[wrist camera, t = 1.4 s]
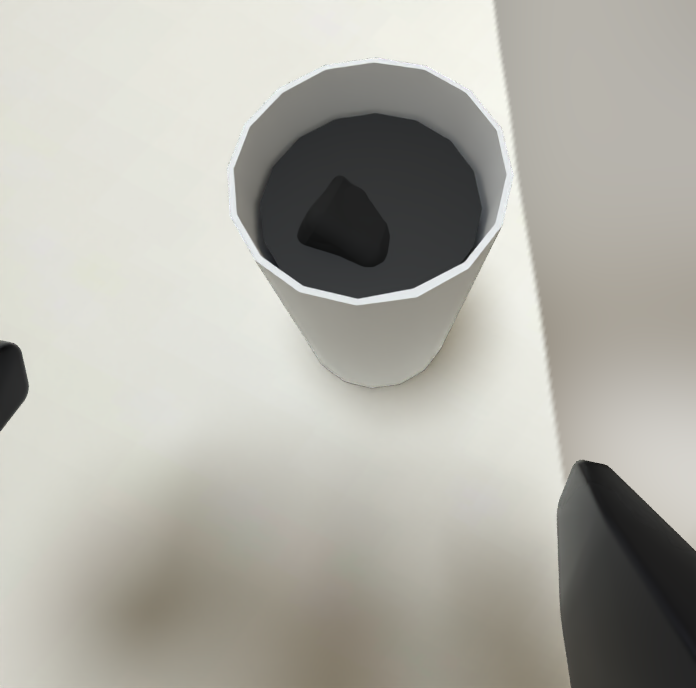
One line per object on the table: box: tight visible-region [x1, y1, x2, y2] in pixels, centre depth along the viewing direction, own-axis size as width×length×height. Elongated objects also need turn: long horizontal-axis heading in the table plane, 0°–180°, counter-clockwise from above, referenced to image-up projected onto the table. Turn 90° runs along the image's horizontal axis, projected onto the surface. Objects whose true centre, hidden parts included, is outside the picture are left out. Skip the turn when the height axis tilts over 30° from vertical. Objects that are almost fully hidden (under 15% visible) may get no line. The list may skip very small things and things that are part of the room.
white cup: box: [227, 57, 514, 388], centre depth 17 cm, size 7×7×10 cm
